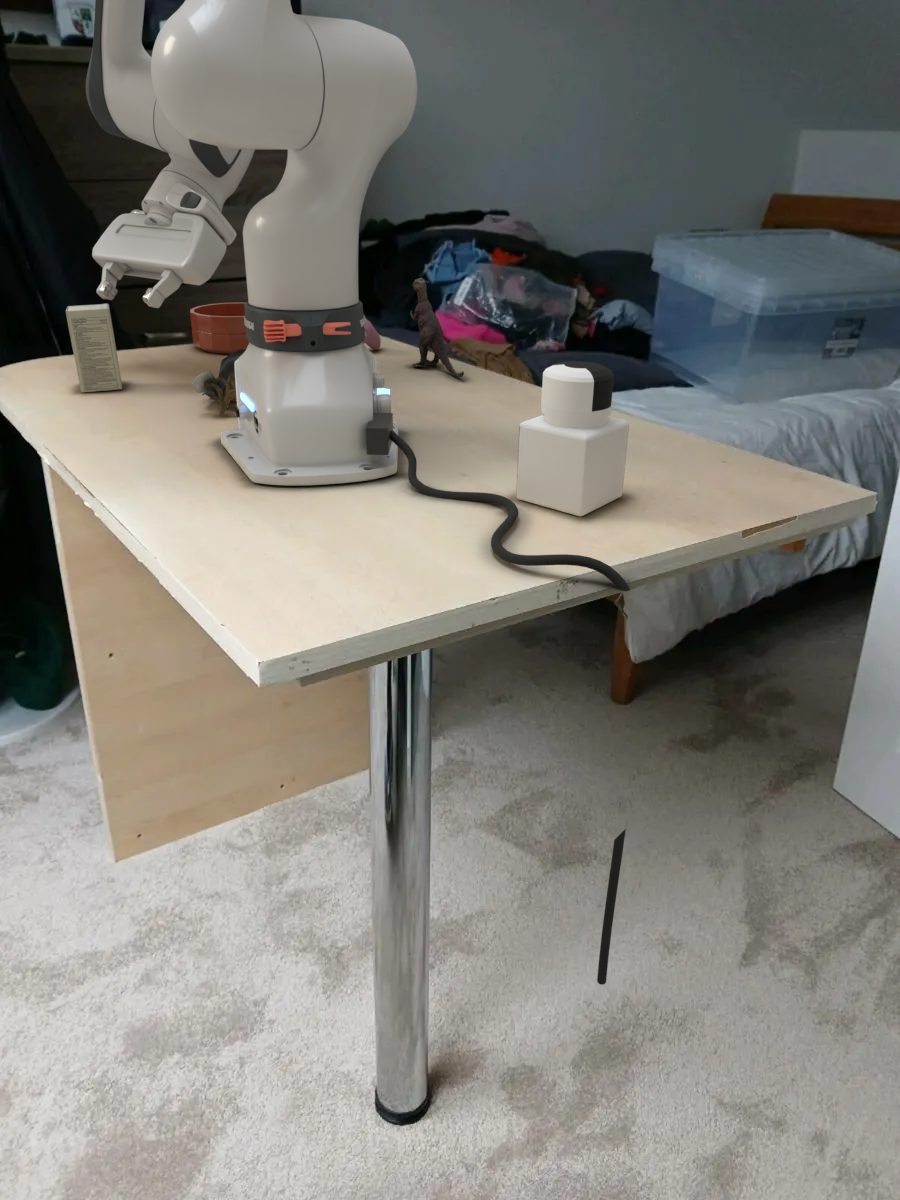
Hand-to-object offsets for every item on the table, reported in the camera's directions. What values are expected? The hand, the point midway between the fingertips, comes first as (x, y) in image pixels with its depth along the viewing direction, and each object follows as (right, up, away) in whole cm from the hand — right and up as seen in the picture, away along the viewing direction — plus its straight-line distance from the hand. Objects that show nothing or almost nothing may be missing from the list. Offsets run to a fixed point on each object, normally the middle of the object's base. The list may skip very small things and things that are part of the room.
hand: (126, 300), depth 120 cm
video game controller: (+26, 0, +23) cm, 35 cm away
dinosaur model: (+40, -6, +11) cm, 42 cm away
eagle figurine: (+15, -15, -7) cm, 23 cm away
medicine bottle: (+52, -29, -34) cm, 69 cm away
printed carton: (-3, -11, 0) cm, 12 cm away
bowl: (+9, +1, +25) cm, 27 cm away
